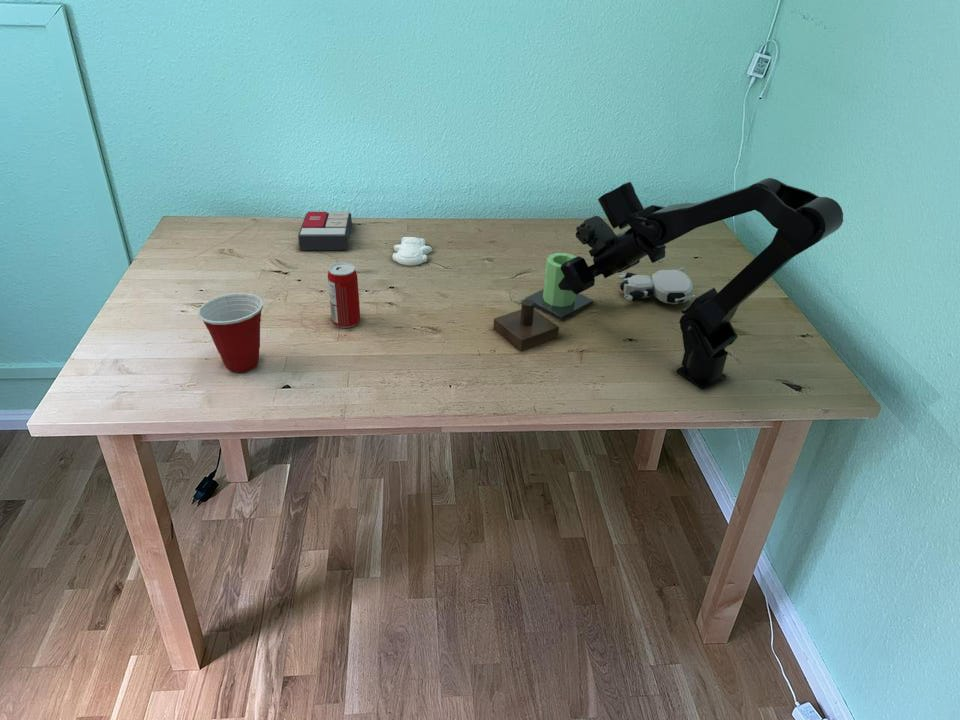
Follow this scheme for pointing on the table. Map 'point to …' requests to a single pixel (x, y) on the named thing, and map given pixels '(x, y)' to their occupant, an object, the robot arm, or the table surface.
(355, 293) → the soda can
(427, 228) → the table surface
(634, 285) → the robot toy
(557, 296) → the green faceted hollow cylinder
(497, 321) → the stacking stand
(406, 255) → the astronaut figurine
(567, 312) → the slate coaster
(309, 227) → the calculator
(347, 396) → the table surface
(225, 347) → the plastic cup
